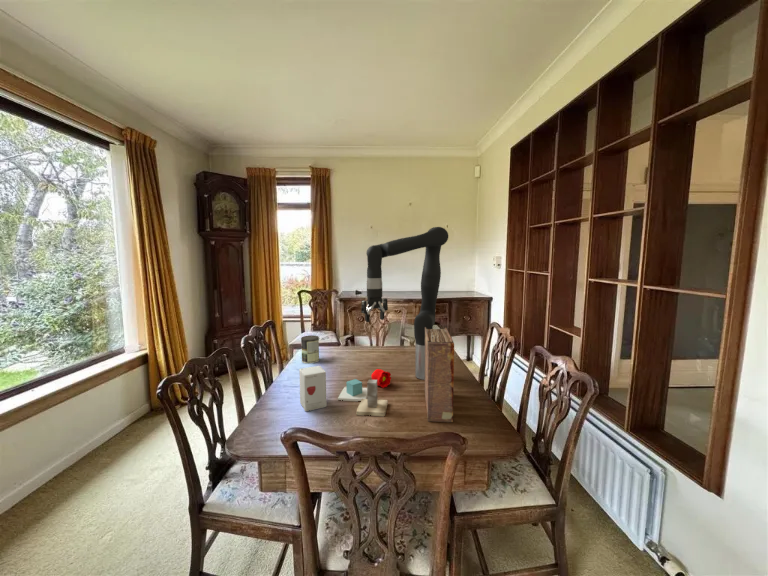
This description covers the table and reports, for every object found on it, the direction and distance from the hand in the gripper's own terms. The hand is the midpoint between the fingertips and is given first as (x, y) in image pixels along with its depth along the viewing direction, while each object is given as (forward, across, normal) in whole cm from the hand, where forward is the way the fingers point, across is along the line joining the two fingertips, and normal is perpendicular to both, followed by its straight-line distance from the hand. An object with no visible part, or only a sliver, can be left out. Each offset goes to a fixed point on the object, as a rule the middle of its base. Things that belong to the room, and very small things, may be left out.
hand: (374, 320), depth 153 cm
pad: (+30, +17, +7) cm, 35 cm away
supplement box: (+30, +35, +4) cm, 47 cm away
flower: (+30, +1, +5) cm, 31 cm away
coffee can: (+30, +11, -50) cm, 59 cm away
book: (+30, -4, +38) cm, 48 cm away
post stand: (+30, +18, +23) cm, 42 cm away
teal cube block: (+29, +17, +7) cm, 34 cm away
